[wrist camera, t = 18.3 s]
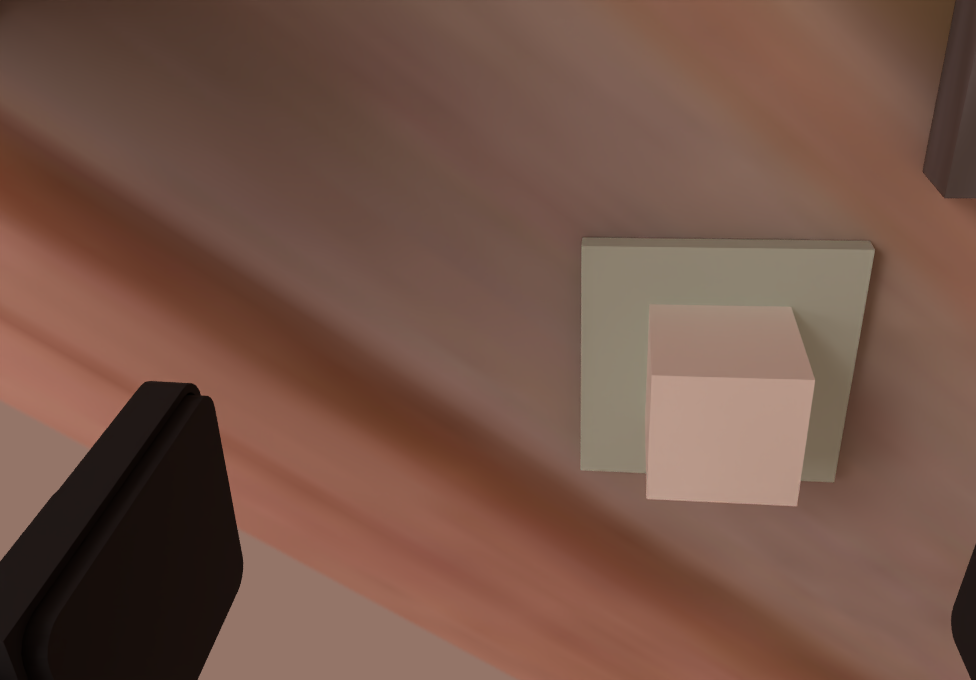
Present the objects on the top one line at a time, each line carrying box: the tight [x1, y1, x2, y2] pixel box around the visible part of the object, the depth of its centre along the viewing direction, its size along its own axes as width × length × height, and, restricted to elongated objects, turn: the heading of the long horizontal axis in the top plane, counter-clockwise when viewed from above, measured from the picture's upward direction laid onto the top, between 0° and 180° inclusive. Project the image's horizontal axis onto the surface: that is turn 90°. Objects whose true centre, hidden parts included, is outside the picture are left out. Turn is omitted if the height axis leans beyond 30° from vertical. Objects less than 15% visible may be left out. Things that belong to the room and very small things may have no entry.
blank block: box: [645, 304, 815, 506], centre depth 32 cm, size 5×5×5 cm
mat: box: [580, 237, 875, 483], centre depth 34 cm, size 10×10×1 cm
